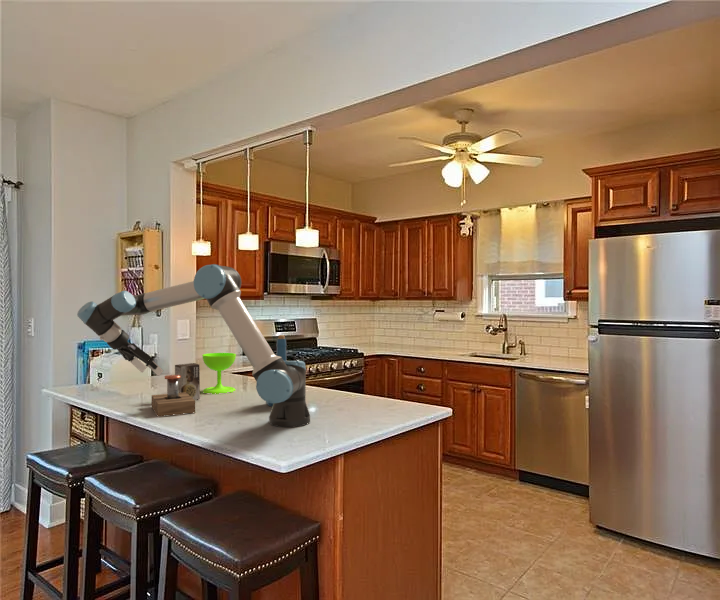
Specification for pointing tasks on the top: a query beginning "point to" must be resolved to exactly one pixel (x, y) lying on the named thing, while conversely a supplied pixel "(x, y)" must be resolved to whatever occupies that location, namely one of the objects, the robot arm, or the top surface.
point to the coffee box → (189, 379)
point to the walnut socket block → (173, 404)
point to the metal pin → (172, 386)
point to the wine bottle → (280, 353)
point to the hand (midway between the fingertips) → (152, 371)
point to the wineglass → (219, 369)
